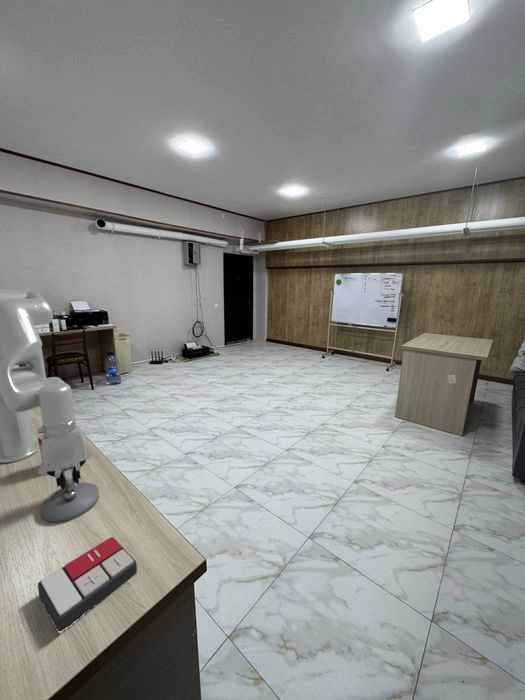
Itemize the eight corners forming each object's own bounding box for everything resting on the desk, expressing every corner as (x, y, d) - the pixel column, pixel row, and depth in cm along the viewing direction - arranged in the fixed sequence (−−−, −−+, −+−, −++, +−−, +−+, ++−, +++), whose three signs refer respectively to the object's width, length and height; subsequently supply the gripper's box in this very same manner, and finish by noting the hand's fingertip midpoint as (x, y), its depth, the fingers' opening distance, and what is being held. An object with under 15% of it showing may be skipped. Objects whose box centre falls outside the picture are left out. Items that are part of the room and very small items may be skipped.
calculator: (137, 559, 64) (57, 617, 52) (138, 576, 64) (59, 636, 53) (112, 533, 70) (36, 579, 58) (113, 548, 71) (38, 597, 59)
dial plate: (49, 493, 88) (48, 488, 87) (101, 482, 93) (101, 477, 92) (33, 529, 75) (32, 524, 75) (95, 514, 80) (94, 509, 80)
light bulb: (76, 498, 83) (73, 476, 81) (63, 502, 81) (60, 480, 80) (75, 482, 90) (72, 461, 88) (64, 485, 88) (60, 464, 87)
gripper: (24, 442, 74) (36, 504, 78) (96, 422, 85) (103, 478, 89) (22, 431, 80) (33, 490, 84) (89, 414, 91) (96, 467, 95)
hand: (69, 483), depth 86 cm, fingers closed on light bulb, 3 cm apart
